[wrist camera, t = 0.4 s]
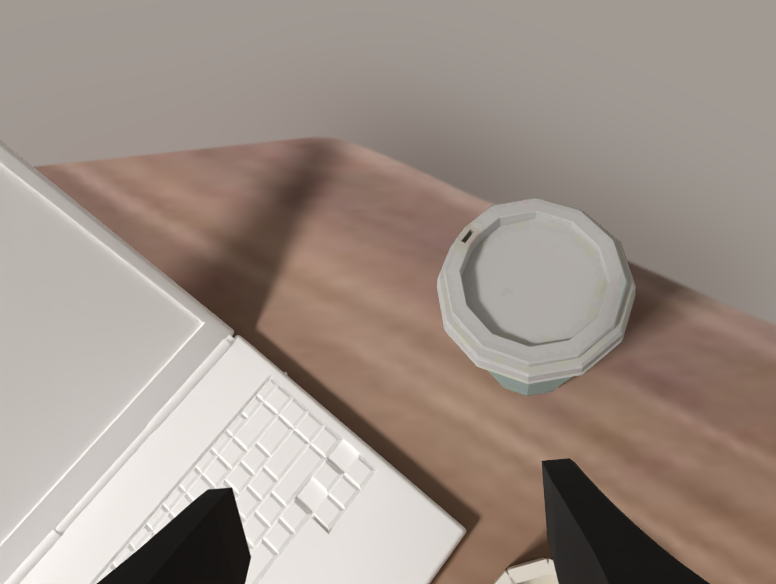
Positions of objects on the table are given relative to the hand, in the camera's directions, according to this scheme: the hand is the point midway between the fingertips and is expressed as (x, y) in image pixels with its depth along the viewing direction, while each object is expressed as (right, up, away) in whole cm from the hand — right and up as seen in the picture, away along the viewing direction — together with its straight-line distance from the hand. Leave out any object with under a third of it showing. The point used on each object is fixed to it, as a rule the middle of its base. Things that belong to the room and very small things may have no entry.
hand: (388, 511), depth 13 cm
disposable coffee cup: (+11, 0, +30) cm, 32 cm away
